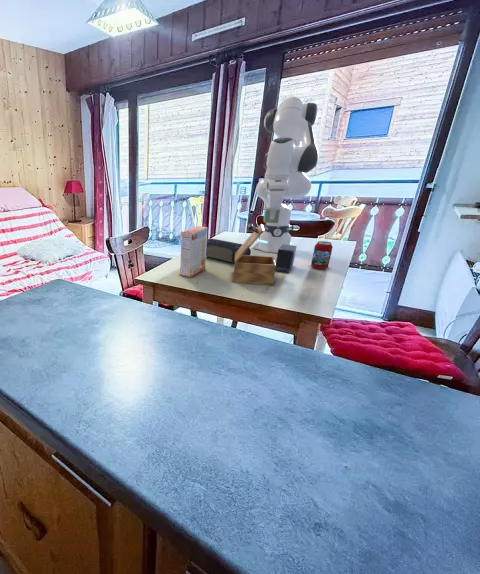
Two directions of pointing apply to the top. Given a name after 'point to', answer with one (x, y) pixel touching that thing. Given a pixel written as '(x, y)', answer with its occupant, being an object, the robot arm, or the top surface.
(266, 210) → the block
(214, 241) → the portable speaker
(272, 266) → the basket
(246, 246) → the basket lid
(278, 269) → the small box
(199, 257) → the cracker box
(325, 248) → the beverage can
